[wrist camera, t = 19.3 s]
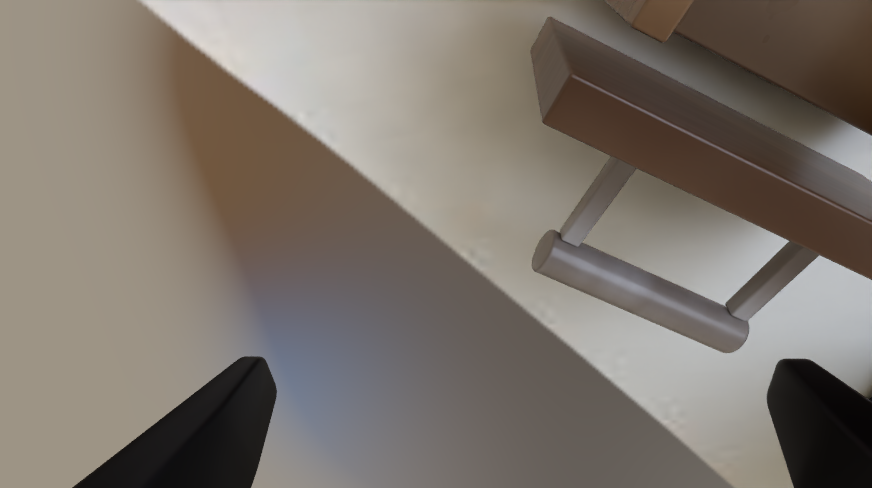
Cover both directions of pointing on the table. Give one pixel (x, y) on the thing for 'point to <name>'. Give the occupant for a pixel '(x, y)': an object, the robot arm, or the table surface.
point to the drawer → (712, 147)
